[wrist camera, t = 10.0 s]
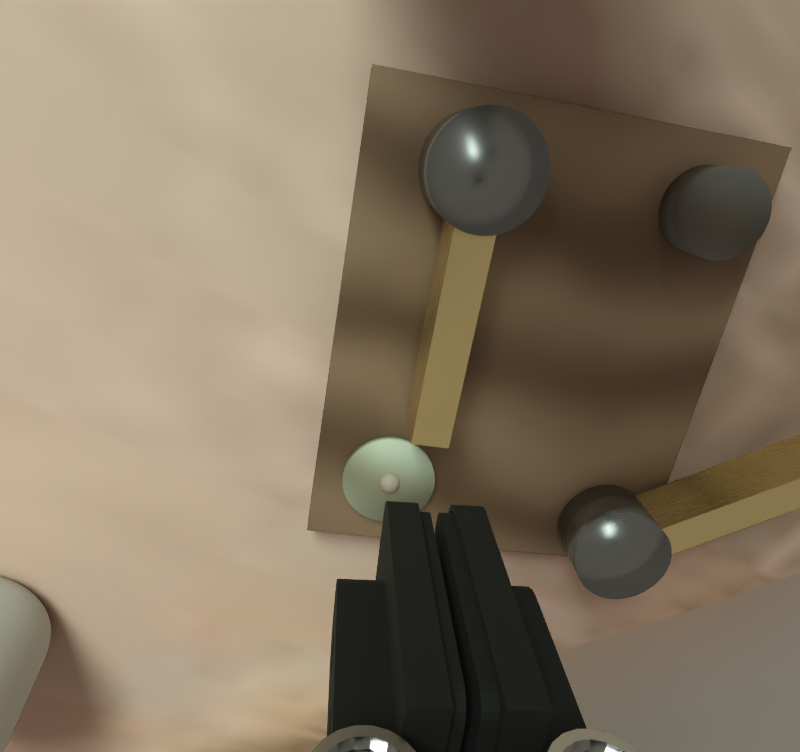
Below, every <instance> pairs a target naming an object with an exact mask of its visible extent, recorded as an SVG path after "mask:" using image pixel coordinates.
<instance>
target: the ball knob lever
mask: <svg viewBox="0 0 800 752" xmlns="http://www.w3.org/2000/svg"><path fill="white" fill-rule="evenodd" d="M550 168H551V165H550V155H549V150H548V147H547V144H546V141H545V139H544V137H543V135H542V133H541V131H540V130H539V128H538V127H537V126H536V125H535V124H534V122H533V121H532V120H531V119H529V118H528V117H527V116H526V115H524V114H523V113H521V112H520V111H518V110H515V109H513V108H511V107H507V106H503V105H495V104H494V105H482V106H477V107H472V108H468V109H464V110H460V111H457V112H455V113H453V114H451V115H449V116H447V117H446V118H444V119H443V120H442V121H440V122H439V123H438V124H437V125H436V126H435V127H434V128H433V129H432V131H431V132H430V134H429V135H428V136H427V138H426V140H425V142H424V144H423V147H422V150H421V153H420V157H419V164H418V175H419V182H420V185H421V189H422V191H423V194H424V196H425V198H426V200H427V201H428V203H429V204H430V205H431V207H432V208H433V209H434V210H435V211H436V212H437V213H438V214H439V215H440V216H442V217H443V218H444V219H443V224H442V229H441V234H440V239H439V245H438V250H437V255H436V260H435V266H434V271H433V276H432V281H431V286H430V292H429V297H428V302H427V307H426V312H425V318H424V323H423V328H422V333H421V338H420V344H419V349H418V354H417V359H416V365H415V370H414V375H413V380H412V385H411V391H410V396H409V401H408V406H407V411H406V420H407V425H408V430H409V435H410V441H411V444H415V445H424V446H432V447H440V448H449V445H450V440H451V436H452V431H453V427H454V422H455V418H456V413H457V409H458V405H459V400H460V396H461V391H462V387H463V382H464V378H465V373H466V369H467V364H468V360H469V355H470V351H471V346H472V342H473V337H474V333H475V328H476V324H477V319H478V315H479V310H480V306H481V302H482V297H483V293H484V288H485V284H486V279H487V275H488V270H489V266H490V261H491V257H492V252H493V248H494V243H495V239H496V235H499V234H502V233H505V232H508V231H510V230H512V229H514V228H516V227H518V226H519V225H521V224H522V223H523V222H525V221H526V220H527V219H528V218H529V217H530V216H531V215H532V214H533V213H534V212H535V210H536V209H537V208H538V206H539V205H540V203H541V201H542V200H543V197H544V195H545V193H546V190H547V187H548V184H549V178H550Z"/></svg>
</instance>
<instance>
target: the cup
mask: <svg viewBox="0 0 800 752" xmlns="http://www.w3.org/2000/svg"><path fill="white" fill-rule="evenodd" d="M50 639H51V624H50V619H49V616H48V613H47V611H46V609H45V607H44V606H43V604H42V603H41V602H40V600H39V599H38V598H37V597H36V596H35V595H34V594H33V593H31V592H30V591H29V590H28V589H26V588H25V587H23V586H21V585H20V584H18V583H16V582H13V581H11V580H8V579H5V578H2V577H0V752H4V751H5V748H6V746H7V744H8V742H9V739H10V737H11V735H12V733H13V730H14V728H15V726H16V724H17V721H18V719H19V717H20V714H21V712H22V710H23V708H24V705H25V703H26V701H27V699H28V696H29V694H30V692H31V690H32V687H33V685H34V683H35V680H36V678H37V676H38V674H39V671H40V669H41V667H42V665H43V662H44V660H45V657H46V655H47V652H48V648H49V644H50Z"/></svg>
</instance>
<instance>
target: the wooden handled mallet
mask: <svg viewBox="0 0 800 752" xmlns="http://www.w3.org/2000/svg"><path fill="white" fill-rule="evenodd" d="M799 508H800V435H798V436H796V437H793V438H790V439H787V440H785V441H782V442H779V443H777V444H774V445H771V446H768V447H766V448H763V449H760V450H758V451H755V452H752V453H749V454H747V455H744V456H741V457H739V458H736V459H733V460H731V461H728V462H725V463H722V464H720V465H717V466H714V467H712V468H709V469H706V470H703V471H701V472H698V473H695V474H693V475H690V476H687V477H685V478H682V479H679V480H676V481H674V482H671V483H668V484H666V485H663V486H660V487H657V488H655V489H652V490H649V491H647V492H644V493H641V494H638V495H636V496H635V495H634V494H633V493H632V492H631V491H629V490H628V489H626V488H623V487H620V486H617V485H598V486H594V487H591V488H588V489H586V490H583V491H582V492H580V493H578V494H577V495H575V496H574V497H573V498H572V499H571V500H570V501H569V502H568V503H567V504H566V505H565V507H564V508H563V510H562V512H561V514H560V516H559V520H558V527H557V529H558V535H559V538H560V541H561V543H562V545H563V547H564V549H565V550H566V552H567V554H568V556H569V558H570V560H571V562H572V564H573V566H574V568H575V570H576V572H577V574H578V576H579V578H580V580H581V582H582V583H583V585H584V586H585V587H586V588H587V589H588V590H589V591H591V592H592V593H594V594H596V595H598V596H601V597H604V598H610V599H621V598H628V597H632V596H635V595H638V594H640V593H642V592H644V591H646V590H648V589H649V588H651V587H652V586H653V585H654V584H656V583H657V582H658V581H659V580H660V579H661V578H662V576H663V575H664V574H665V572H666V570H667V568H668V566H669V564H670V560H671V555H672V554H674V553H677V552H680V551H683V550H685V549H688V548H691V547H694V546H696V545H699V544H702V543H705V542H707V541H710V540H713V539H716V538H719V537H721V536H724V535H727V534H730V533H732V532H735V531H738V530H741V529H744V528H746V527H749V526H752V525H755V524H757V523H760V522H763V521H766V520H768V519H771V518H774V517H777V516H780V515H782V514H785V513H788V512H791V511H793V510H796V509H799Z"/></svg>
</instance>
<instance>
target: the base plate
mask: <svg viewBox="0 0 800 752" xmlns="http://www.w3.org/2000/svg"><path fill="white" fill-rule="evenodd" d="M494 104H495V105H503V106H507V107H511V108H513V109H515V110H518V111H520V112H521V113H523V114H524V115H526V116H527V117H528V118H529V119H531V120H532V121H533V122H534V124H535V125H536V126H537V127H538V128H539V130H540V131H541V133H542V135H543V137H544V139H545V141H546V144H547V147H548V150H549V155H550V165H551V168H550V178H549V184H548V187H547V190H546V193H545V195H544V197H543V200H542V201H541V203H540V205H539V206H538V208H537V209H536V210H535V212H534V213H533V214H532V215H531V216H530V217H529V218H528V219H527V220H526V221H525V222H523V223H522V224H521V225H519V226H518V227H516V228H514V229H512V230H510V231H508V232H505V233H502V234H499V235H496V239H495V243H494V248H493V252H492V257H491V261H490V266H489V270H488V275H487V279H486V284H485V288H484V293H483V297H482V302H481V306H480V310H479V315H478V319H477V324H476V328H475V333H474V337H473V342H472V346H471V351H470V355H469V360H468V364H467V369H466V373H465V378H464V382H463V387H462V391H461V396H460V400H459V405H458V409H457V413H456V418H455V422H454V427H453V431H452V436H451V440H450V445H449V448H440V447H432V446H424V445H415V444H411V441H410V435H409V430H408V425H407V420H406V411H407V406H408V401H409V396H410V391H411V385H412V380H413V375H414V370H415V365H416V359H417V354H418V349H419V344H420V338H421V333H422V328H423V323H424V318H425V312H426V307H427V302H428V297H429V292H430V286H431V281H432V276H433V271H434V266H435V260H436V255H437V250H438V245H439V239H440V234H441V229H442V224H443V219H444V218H443V217H442V216H440V215H439V214H438V213H437V212H436V211H435V210H434V209H433V208H432V207H431V205H430V204H429V203H428V201H427V200H426V198H425V196H424V194H423V191H422V189H421V185H420V182H419V175H418V164H419V157H420V153H421V150H422V147H423V144H424V142H425V140H426V138H427V136H428V135H429V134H430V132H431V131H432V129H433V128H434V127H435V126H436V125H437V124H438V123H439V122H440V121H442V120H443V119H444V118H446V117H447V116H449V115H451V114H453V113H455V112H457V111H460V110H464V109H468V108H472V107H477V106H482V105H494ZM790 151H791V148H790V147H785V146H780V145H775V144H770V143H765V142H760V141H755V140H750V139H745V138H740V137H735V136H730V135H725V134H720V133H715V132H710V131H705V130H700V129H695V128H690V127H685V126H680V125H675V124H670V123H665V122H660V121H655V120H650V119H645V118H640V117H635V116H630V115H625V114H620V113H615V112H610V111H605V110H600V109H595V108H590V107H585V106H579V105H574V104H569V103H564V102H559V101H554V100H549V99H544V98H539V97H534V96H529V95H524V94H519V93H514V92H509V91H504V90H499V89H494V88H489V87H484V86H479V85H474V84H469V83H464V82H459V81H454V80H449V79H444V78H439V77H434V76H429V75H424V74H419V73H414V72H409V71H404V70H399V69H394V68H389V67H384V66H379V65H374V64H373V65H372V68H371V75H370V83H369V90H368V97H367V104H366V111H365V118H364V125H363V133H362V140H361V147H360V154H359V161H358V168H357V175H356V182H355V190H354V197H353V204H352V211H351V218H350V225H349V232H348V240H347V247H346V254H345V261H344V268H343V275H342V282H341V289H340V297H339V304H338V311H337V318H336V325H335V332H334V339H333V347H332V354H331V361H330V368H329V375H328V382H327V389H326V397H325V404H324V411H323V418H322V425H321V432H320V439H319V446H318V454H317V461H316V468H315V475H314V482H313V489H312V496H311V504H310V511H309V519H308V528H307V530H311V531H321V532H331V533H341V534H350V535H360V536H370V537H380V538H381V532H382V523H383V515H384V508H385V503H386V501H396V502H414V503H418V504H419V508H420V511H422V512H430V513H431V518H432V523H433V528H434V533H435V527H436V520H437V516H438V513H439V512H440V513H448V511H449V508H450V506H451V505H469V506H483V507H484V508H485V510H486V513H487V516H488V519H489V522H490V525H491V528H492V531H493V534H494V537H495V540H496V542H497V545H498V548H499V549H500V550H510V551H520V552H530V553H540V554H550V555H560V556H568V554H567V552H566V550H565V549H564V547H563V545H562V543H561V541H560V538H559V535H558V529H557V527H558V520H559V516H560V514H561V512H562V510H563V508H564V507H565V505H566V504H567V503H568V502H569V501H570V500H571V499H572V498H573V497H574V496H575V495H577V494H578V493H580V492H582V491H583V490H586V489H588V488H591V487H594V486H598V485H617V486H620V487H623V488H626V489H628V490H629V491H631V492H632V493H633V494H634V495H635V496H636V495H638V494H641V493H644V492H647V491H649V490H652V489H655V488H657V487H660V486H663V485H666V484H667V482H668V480H669V477H670V474H671V471H672V469H673V466H674V463H675V461H676V458H677V455H678V453H679V450H680V447H681V444H682V442H683V439H684V436H685V434H686V431H687V428H688V426H689V423H690V420H691V418H692V415H693V412H694V409H695V407H696V404H697V401H698V399H699V396H700V393H701V391H702V388H703V385H704V382H705V380H706V377H707V374H708V372H709V369H710V366H711V364H712V361H713V358H714V355H715V353H716V350H717V347H718V345H719V342H720V339H721V337H722V334H723V331H724V329H725V326H726V323H727V320H728V318H729V315H730V312H731V310H732V307H733V304H734V302H735V299H736V296H737V293H738V291H739V288H740V285H741V283H742V280H743V277H744V275H745V272H746V269H747V267H748V264H749V261H750V258H751V256H752V253H753V250H754V248H755V245H756V242H757V241H758V240H759V238H760V237H761V235H762V234H763V232H764V231H765V229H766V227H767V224H768V222H769V218H770V214H771V206H772V199H773V196H774V194H775V191H776V188H777V186H778V183H779V180H780V178H781V175H782V172H783V169H784V167H785V164H786V161H787V159H788V156H789V153H790Z"/></svg>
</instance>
